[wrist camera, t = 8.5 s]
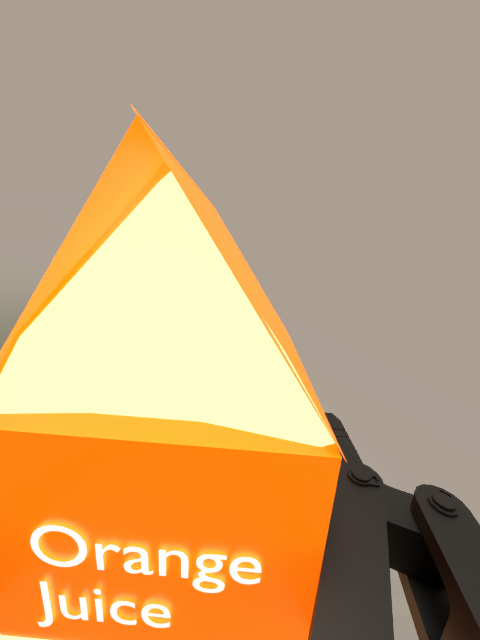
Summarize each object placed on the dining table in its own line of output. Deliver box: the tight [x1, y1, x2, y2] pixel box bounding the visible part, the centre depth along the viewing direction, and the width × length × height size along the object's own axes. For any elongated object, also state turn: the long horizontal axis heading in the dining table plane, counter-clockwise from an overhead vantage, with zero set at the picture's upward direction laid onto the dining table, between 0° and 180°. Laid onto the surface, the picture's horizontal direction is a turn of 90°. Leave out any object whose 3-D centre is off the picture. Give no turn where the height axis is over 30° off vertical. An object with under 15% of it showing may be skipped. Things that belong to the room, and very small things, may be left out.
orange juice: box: [0, 106, 346, 640], centre depth 10 cm, size 8×9×20 cm
